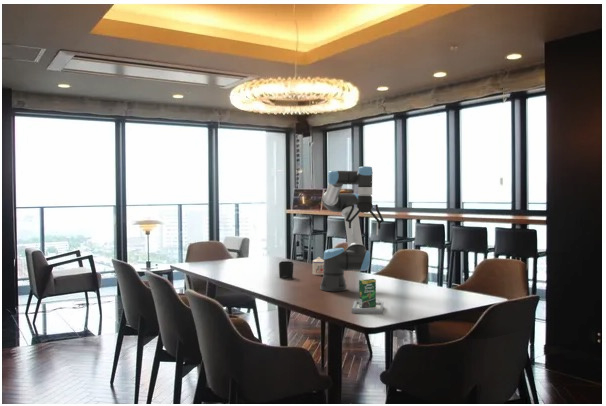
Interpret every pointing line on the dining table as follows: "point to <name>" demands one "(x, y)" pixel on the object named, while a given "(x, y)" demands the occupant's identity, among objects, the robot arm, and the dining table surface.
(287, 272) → the pen holder
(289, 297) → the dining table surface
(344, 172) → the robot arm
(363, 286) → the coffee box
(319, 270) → the teacup with lid
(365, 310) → the dock plate
